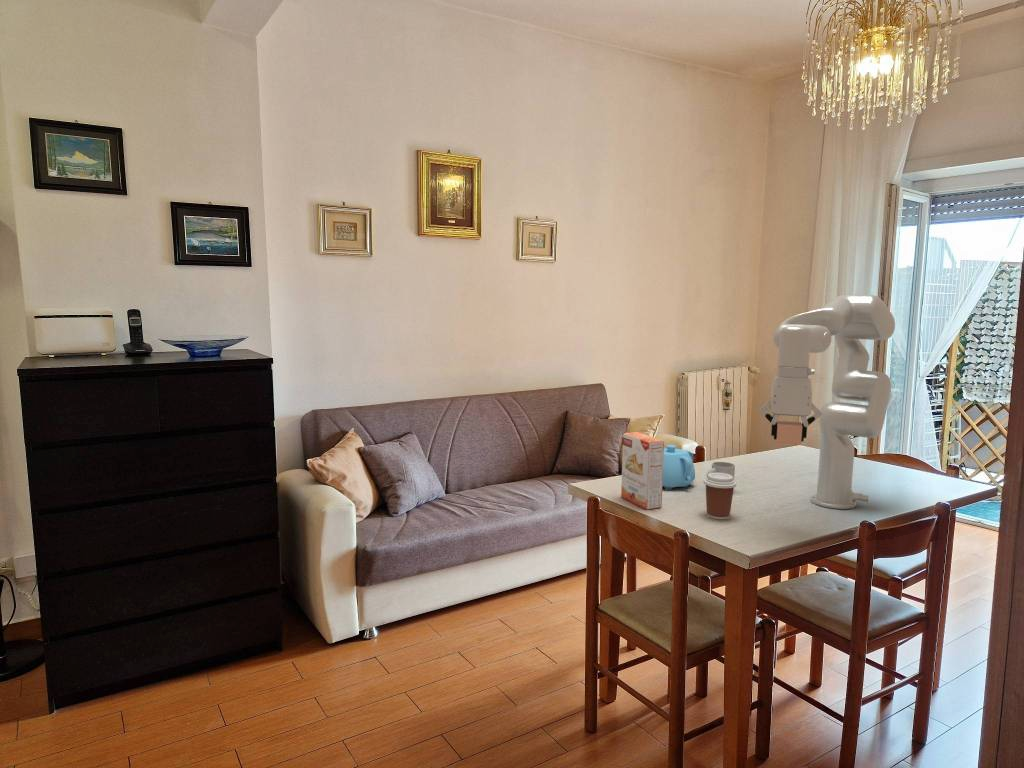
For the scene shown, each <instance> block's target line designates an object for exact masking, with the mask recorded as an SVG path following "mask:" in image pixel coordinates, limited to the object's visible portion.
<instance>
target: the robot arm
mask: <svg viewBox="0 0 1024 768" xmlns="http://www.w3.org/2000/svg"><path fill="white" fill-rule="evenodd" d="M895 329H896V321H895V318H894V314H893V313H892V312H891V310H890V308H888V306H887V305H886V303H885V302H884V301H883V299H882V298H880V297H879V296H877V295H874V294H841V295H838V296H835V297H834V298H832V299H831V300H830V301H828V302H826V304H825V305H823V306H822V307H821V308H819V309H814V310H810V311H807V312H806V311H805V312H803V313H798V314H796V315H793V316H791V317H788V318H786V319H785V320H784V321H782V322H781V323H780V324H779V325H778V326H777V327H776V329H775V331H774V334H773V343H774V345H775V347H776V348H777V349H778V358H777V359H778V360H777V361H778V363H777V374H776V375H777V376H773V380H772V383H771V392H770V398H769V400H768V401H767V402H766V403H765V404H763V405H762V406H761V407H760V408H759V412H760V414H762V416H764V417H765V418H766V420H767V421H769V423H770V424H771V429H770V430H771V433H770V436H771V437H773V440H774V441H776V439H777V421H779V418H780V416H791V417H792V416H793V417H800V419H801V421H802V422H801V424H802V439H801V443H803V442H804V440H805V439H807V433H808V432H807V431H808V427H809V426H810V425H811V424H812V423H813V422H815V421H816V420H817V419H818V421H819V422H818V423H819V430H820V431H819V432H820V441H819V442H820V443H819V445H820V446H819V459H818V471H817V472H818V474H817V475H818V476H817V486H816V487H817V489H816V493H815V494H812V495H811V496H810V501H811V502H812V503H813V504H815V505H817V506H821V507H824V508H825V507H826V508H829V509H838V510H839V509H840V510H849V509H854V508H855V507H857V501H858V502H863V503H864V502H866V503H868V502H869V495H867V494H865V495H864V494H863V493H855V492H854V491H853V490H852V484H853V474H854V473H853V471H854V464H855V463H854V462H855V446H854V443H853V441H852V440H851V439H850V437H849V436H854V437H860V438H866V439H875V438H877V437H878V436H880V435H881V433H882V432H883V431H882V430H883V428H884V424H885V419H886V415H887V409H888V406H889V402H890V397H891V393H892V392H891V391H892V384H891V383H892V382H891V379H890V377H889V375H888V374H887V373H884V372H882V371H876V370H868V366H869V361H870V354H869V352H868V350H867V349H866V346H865V345H863V343H862V342H861V341H860V340H869V341H870V340H871V341H885V340H888V339H890V338H891V337H892V336H893V334H894V333H895ZM832 336H834V339H835V341H836V345H837V348H838V358H837V363H836V367H835V372H834V374H833V375H834V376H833V379H832V385H831V392H832V395H833V397H836V398H838V399H840V400H846V401H854V402H862V403H868V404H867V405H865V404H857V403H856V404H855V403H850V402H841V401H829V402H827V403H824V404H823V405H822V406H821V407H820V409H819V408H818V407H817V406H816V405H815V404H814V403H813V396H812V395H813V390H812V380H811V378H809V377H810V376H811V375H815V369H813V368H810V365H809V364H810V353H811V354H819V353H823V352H825V351H827V350H828V348H829V347H830V345H831V343H832ZM768 409H769V410H770V413H772V414H773V415H771V414H770V413H769V412H768V411H767V410H768ZM812 412H813V414H812ZM811 414H812V415H811ZM810 415H811V416H810ZM808 416H809V417H808ZM807 417H808V418H807Z"/></svg>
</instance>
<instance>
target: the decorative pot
mask: <svg viewBox="0 0 1024 768" xmlns="http://www.w3.org/2000/svg"><path fill="white" fill-rule="evenodd" d="M665 446H666V447H664V460H663V485H662V488H663V487H664V489H665V490H673V488H678V487H679V488H680V487H681V488H687V487H688V485H691V484H692V483H693V482H694V480H695V478H696V470H695V465H694V462H693V461H694V454H693V452H692V451H690V450H687V449H680V448H677V446H676V445H674V444H666V445H665Z"/></svg>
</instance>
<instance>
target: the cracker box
mask: <svg viewBox="0 0 1024 768" xmlns="http://www.w3.org/2000/svg"><path fill="white" fill-rule="evenodd" d="M664 448H665V440H662V439H660V438H657V437H653V436H651V435H648V434H645V433H643V432H639V431H634V432H633V431H632V432H624V433H623V434H622V455H621V457H622V460H621V461H622V462H621V492H620V493H621V495H620V496H621V498H623V499H625V500H627V501H628V502H630V503H633V504H634V505H636V506H638V507H640V508H642V509H644V510H646V511H647V510H648V511H649V510H655V509H661V508H662V507H663V506H662V505H663V504H662V503H663V486H662V485H663V460H664Z"/></svg>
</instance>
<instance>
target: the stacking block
mask: <svg viewBox="0 0 1024 768" xmlns="http://www.w3.org/2000/svg"><path fill="white" fill-rule="evenodd" d="M801 439H802V422H800V421H788V420H777V439H776V440H775V441H776V443H777V444H787V445H788V444H789V445H797V446H798V445H799V446H802V442H801Z"/></svg>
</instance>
